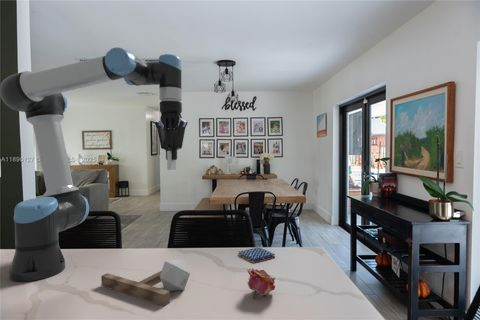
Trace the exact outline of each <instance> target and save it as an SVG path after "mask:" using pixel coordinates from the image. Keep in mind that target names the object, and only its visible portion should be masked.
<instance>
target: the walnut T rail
mask: <svg viewBox="0 0 480 320" xmlns="http://www.w3.org/2000/svg"><path fill="white" fill-rule="evenodd" d="M161 271H162V270H160V271H157V272H156V273H154V274H152V275H150V276H148V277H146V278H144V279H142V280H140V281H135V280H132V279H129V278H124V277H122V276H119V275H115V274H111V273H108V272H107V273H105V274H102V275H101V287H104V288H107V289H110V290H114V291H116V292H119V293H122V294H126V295H129V296H132V297H135V298H138V299H141V300H144V301H146V302H150V303H154V304H156V305H159V306H162V307H165V306H167V305H169V304H170V303H171V301H170V299H171V295H170V293H171V291H167V290H165V289H163V288H159V287H156V284H159V283H160V282H162V281H161V279H160V274H161ZM154 285H155V286H154Z"/></svg>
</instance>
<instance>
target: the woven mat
mask: <svg viewBox="0 0 480 320" xmlns="http://www.w3.org/2000/svg"><path fill="white" fill-rule="evenodd" d="M237 253H238V255H237V256H238V257H241V258H242V259H245V260H246V261H248V262H249V263H252V264H255V263H259V262H262V261H267V260H270V259H274V258H276V255H275V254H276V253H273V252H271V251H268V250H267V249H265V248H262V247H259V246H258V247H257V246H256V247H252V248H248V249H245V250H241V251H240V250H239V251H238V252H237Z"/></svg>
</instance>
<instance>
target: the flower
mask: <svg viewBox="0 0 480 320" xmlns="http://www.w3.org/2000/svg"><path fill="white" fill-rule="evenodd" d="M246 271H247V272H248V275H249V277H248V278H247V279H248V281H246V283H247V286H248V288H249V290H252V291H253V295H252V299H256V296H257V295H259V296H261V297H262V298H263V297H266V298H267V297H269V298H271V296H269V295H268V294H269V293H270V292H272V291H275V288H276V285H275V280H276V277H272V276H271V275H270V274H268V273H267V271H266V270H265V269H260V270H258V269H254V268H253V267H252V269H251V268H249V269H247V270H246Z"/></svg>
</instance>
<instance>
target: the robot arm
mask: <svg viewBox="0 0 480 320" xmlns="http://www.w3.org/2000/svg"><path fill="white" fill-rule="evenodd" d="M182 72H183V70H182V61H181V58H180V57H179V56H177V55H175V54H170V53H169V54H168V53H166V54H161V55H159V57H158V61H155V62H146V61H142V60H141V59H140V58H139V57H137V56H135V55H134V54H133V53H132V52H130V51H129V50H127V49H124V48H122V47H116V46H115V47H113V48H111V49H110V50H108V51H107V52H106V53H105V55H103V56H98V57H95V58H90V59H85V60H82V61H78V62H74V63H70V64H66V65H61V66H58V67H57V66H56V67H52V68H49V69H44V70H41V71H36V72H32V71H28V70H26V71H22V72H17V73H14V74H12V75H9V76H7V77H6V78H4V79H3V80H2V82H0V83H1V84H0V99H1V100H2V101H3V103H4V104H5V105H6V106H7V107H8V108H10V109H12V110H14V111H17V112H22V113H25V118H26V122H28V123H30V124H31V125H32V129H33V132H34V136H35V141H36V145H37V151H38V155H39V160H40V165H41V171H42V174H43V180H44V183H45V188H46V189H45V190H46V191H45V192H44V193H43V195H42V196H40V197H36V198H29V199H26V200H23V201H20V202H18V203H17V204H16V205H15V206H14V212H13V213H14V215H13V226H14V228H13V229H14V246H15V251H14V255H13V258H12V261H11V265H10V267H9V270H8V273H9V274H8V276H9V277H8V278H9V279H10V281H13V282H32V281H33V282H34V281H38V280H43V279H46V278H49V277H53V276H55V275H58V274H59V273H61V272H63V271H64V270H65V269H66V259H65V256H64V254H63V252H62V249H61V247H60V245H59V243H60V242H59V233H61V232H64V231H66V230H68V229H71V228H75V227H77V226H78V225H80V224H82V223H83V222H84V221H85V220H86V218H87V217H88V216H89V212H90V205H89V202H88V200H87V198H86V197H84V195H82V194H80V188H79V187H77V186H75V185H74V183H73V178H72V173H71V167H70V164H69V157H68V152H67V148H66V143H65V140H64V134H63V130H62V124H61V122H62V121H63V119H64V118H65V117H64V113H65V111H66V109H67V107H68V99H67V96H66V94H65V92H70V91H74V90H78V89H82V88H86V87H90V86H95V85H99V84H103V83H107V82H111V81H116V80H121V79H123V80H124V81H125V83H126V84H127V85H129V86H137V87H139V86H151V85H152V86H153V85H154V86H157V85H159V87H158V88H159V94H158V95H159V97H158V98H159V101H160V102H159V112H160V114H161V115H160V118H159V120H158V121H156V122H155V123H154V125H155V127H156V129H157V130H156V131H157V135H158V139H159V145H160V148H161V149H162V150H164V151H165V160H166V161H167V163H166V165H167V166H166V169H167V170H168V171H169V170H170V171H172V170H176V169H177V167H176V166H177V163H176V162H177V159H178V151H179V150H181V149H182V148H183V142H184V138H185V131H186V127H187V126H188V121H187V120H184V119H183V117H182V114H181V113H182V112H183V108H182V107H183V103H182V100H183V99H182V97H183V95H182V94H183V93H182Z"/></svg>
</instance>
